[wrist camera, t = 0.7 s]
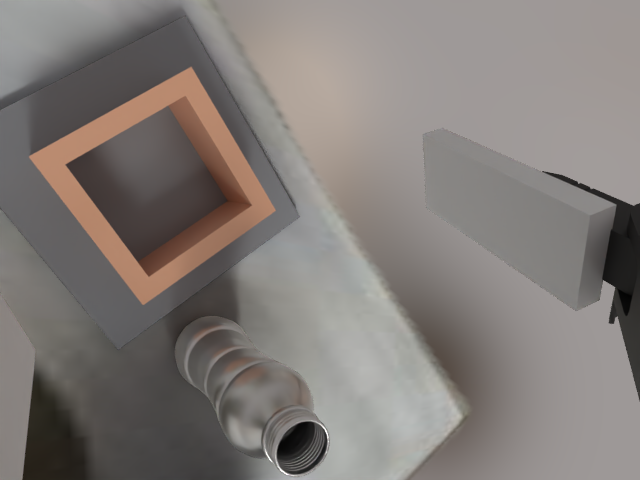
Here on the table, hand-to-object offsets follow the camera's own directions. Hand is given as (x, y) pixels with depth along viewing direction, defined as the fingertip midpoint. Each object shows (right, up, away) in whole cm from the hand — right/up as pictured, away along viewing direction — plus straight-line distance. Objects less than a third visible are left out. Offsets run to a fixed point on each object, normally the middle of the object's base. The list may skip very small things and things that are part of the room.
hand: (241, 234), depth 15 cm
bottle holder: (-12, +5, +28) cm, 30 cm away
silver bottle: (-8, -10, +32) cm, 34 cm away
